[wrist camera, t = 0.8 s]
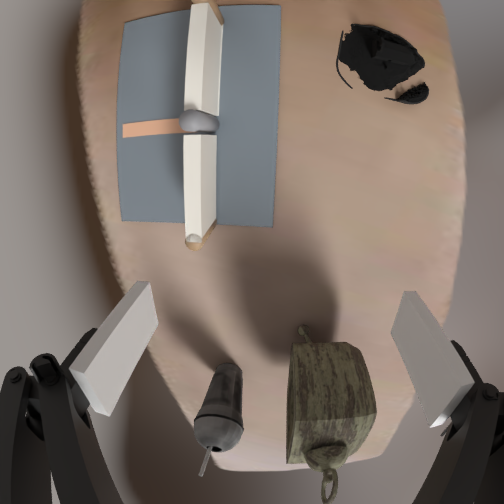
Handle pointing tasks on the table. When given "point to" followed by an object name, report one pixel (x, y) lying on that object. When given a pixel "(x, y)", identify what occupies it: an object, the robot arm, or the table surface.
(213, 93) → the fixed fence section
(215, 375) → the beverage cup
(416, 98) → the black jagged rounded shell
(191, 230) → the cream upright panel
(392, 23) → the table surface
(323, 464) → the tabletop clock
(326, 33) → the table surface
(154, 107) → the card
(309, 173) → the table surface
